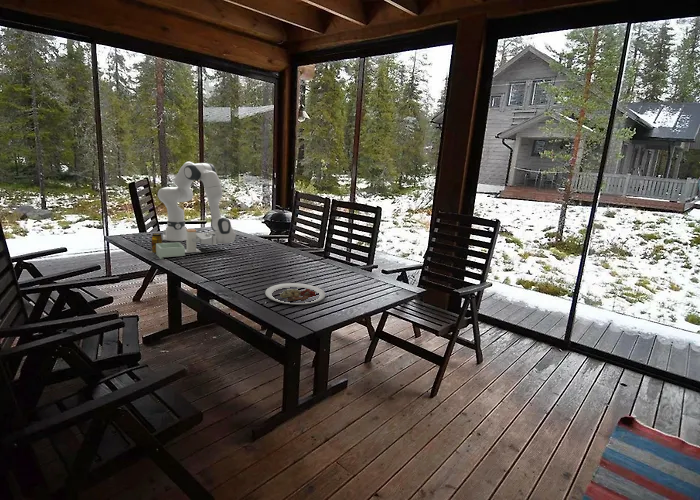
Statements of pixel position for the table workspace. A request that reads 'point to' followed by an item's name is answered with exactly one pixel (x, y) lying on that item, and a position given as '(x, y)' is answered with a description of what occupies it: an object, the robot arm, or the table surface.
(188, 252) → the stud base
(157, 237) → the condiment
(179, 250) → the bin
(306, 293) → the plated food
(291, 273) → the table surface
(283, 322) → the table surface
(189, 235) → the white tall cylinder
